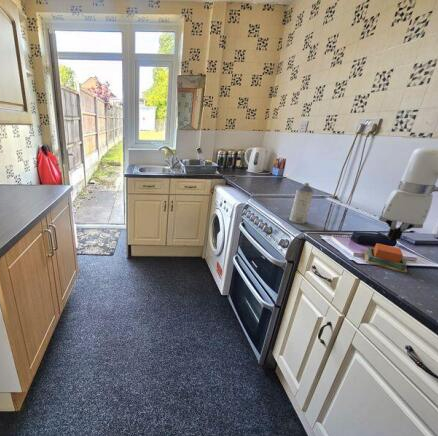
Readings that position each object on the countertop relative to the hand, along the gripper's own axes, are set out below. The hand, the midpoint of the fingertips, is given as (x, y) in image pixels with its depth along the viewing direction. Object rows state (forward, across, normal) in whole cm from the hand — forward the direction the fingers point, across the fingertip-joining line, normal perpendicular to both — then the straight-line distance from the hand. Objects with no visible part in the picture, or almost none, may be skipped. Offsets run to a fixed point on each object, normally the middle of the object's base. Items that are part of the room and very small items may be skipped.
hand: (392, 239), depth 85 cm
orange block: (+8, 0, 0) cm, 8 cm away
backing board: (+9, 0, 0) cm, 9 cm away
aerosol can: (+10, +31, -24) cm, 40 cm away
